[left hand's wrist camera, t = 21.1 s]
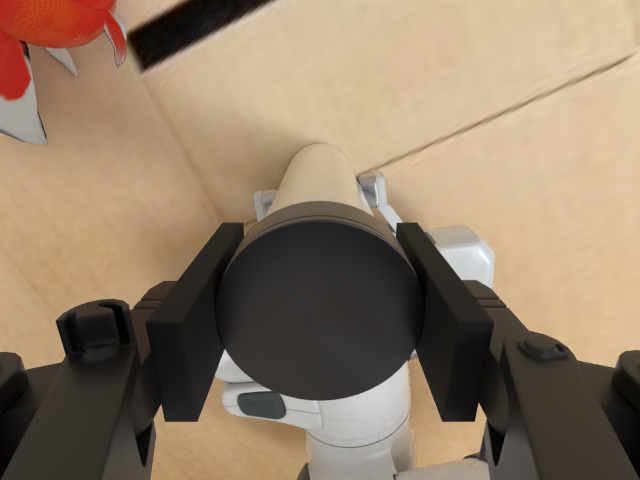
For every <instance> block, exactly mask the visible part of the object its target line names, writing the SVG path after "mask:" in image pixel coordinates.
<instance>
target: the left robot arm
mask: <svg viewBox="0 0 640 480" xmlns="http://www.w3.org/2000/svg"><path fill="white" fill-rule="evenodd" d="M243 238H244V229H243V223H222V224H221V226H220V227H219V228H218V229H217V231H216V232H215V233H214V235H213V236H212V237H211V238H210V240H209V241H208V242H207V244H206V245H205V246H204V247H203V249H202V250H201V251H200V253H199V254H198V255H197V257H196V258H195V259H194V260H193V262H192V263H191V264H190V266H189V267H188V268H187V269H186V271H185V272H184V273H183V275H182V276H181V277H180V278H179V280H178V281H163V282H161V283H160V284H158V285H156V286H154V287H153V288H151V289H149V290H148V292H147V293H146V294H145V295H144V296H143V297H142V298H141V301H139V302H138V303H137V304H136V305H135V306H134V309H132V310H131V311H130V308H129V305H128V304H127V303H126V302H124V301H122V300H116V299H103V300H97V301H92V302H87V303H85V304H82V305H79V306H76V307H74V308H72V309H70V310H69V311H67V312H65V313H63V314H62V315H61V316H60V317H59V318H58V319H57V320H56V324H57V327H58V331H59V334H60V337H61V341H62V344H63V347H64V350H65V354H66V356H65V358H64V360H63V362H61V363H57V364H52V365H47V366H42V367H37V368H32V369H27V370H25V368H24V365H23V362H22V359H21V357H20V356H18V355H17V354H15V353H9V352H0V480H150V478H151V470H152V463H153V455H154V448H155V440H156V431H155V425H154V420H153V418H154V417H155V415H156V413H157V411H158V409H159V407H160V405H161V404H162V409H163V414H164V419H165V422H197V421H198V419H199V416H200V413H201V411H202V408H203V405H204V403H205V400H206V398H207V395H208V392H209V390H210V387H211V384H212V382H213V379H214V376H215V374H216V371H217V368H218V366H219V363H220V360H221V358H222V355H223V353H224V350H225V348H224V346H223V344H222V342H221V339H220V336H219V334H218V330H217V325H216V317H215V300H216V294H217V290H218V286H219V283H220V281H221V279H222V276H223V274H224V272H225V270H226V268H227V266H228V265H229V263H230V261H231V259H232V257H233V256H234V254H235V252H236V250H237V248H238V247H239V245H240V243H241V241H242V240H243ZM396 239H397V240H398V242H399V243H400V245H401V247H402V248H403V250H404V252H405V254H406V256H407V258H408V259H409V261H410V263H411V265H412V267H413V269H414V270H415V273H416V275H417V277H418V279H419V281H420V284H421V287H422V290H423V295H424V302H425V314H424V323H423V329H422V333H421V336H420V339H419V341H418V343H417V345H416V348H415V351H416V353H417V356H418V358H419V361H420V364H421V366H422V369H423V372H424V374H425V377H426V380H427V382H428V385H429V388H430V390H431V393H432V396H433V398H434V401H435V403H436V406H437V409H438V411H439V414H440V417H441V419H442V422H475V418H476V412H477V407H478V402H479V404H480V405H481V407H482V409H483V411H484V413H485V415H486V417H487V420H486V425H485V430H484V434H483V439H482V444H481V448H480V454H479V460H481V461H484V458H485V454H487V462H488V469H489V477H490V480H640V351H639V350H633V351H625V352H624V353H622V354H621V355H620V356H619V358H618V361H617V364H616V367H615V368H612V367H607V366H602V365H597V364H591V363H586V362H582V361H578V360H577V359H576V358H575V356H574V354H573V353H572V352H571V351H570V349H569V348H568V347H567V346H565V345H564V344H562V343H561V342H559V341H558V340H556V339H554V338H551V337H549V336H547V335H544V334H540V333H536V332H532V331H529V330H528V329H527V328H526V327H525V326H524V325H523V324H522V323H521V322H520V320H519V319H518V318H517V317H516V316H515V315H514V314H513V313H512V312H511V310H510V309H509V308H507V307H506V305H505V304H504V303H503V301H502V300H499V297H498V296H497V295H496V294H495V293H494V291H493V290H492V289H491V288H489V287H488V286H486V285H484V284H483V283H481V282H479V281H477V280H461V279H460V277H459V276H458V275H457V274H456V272H455V271H454V270H453V268H452V267H451V266H450V265H449V263H448V262H447V261H446V259H445V258H444V257H443V256H442V254H441V253H440V252H439V250H438V249H437V248H436V247H435V245H434V244H433V243H432V241H431V240H430V239H429V238H428V236H427V235H426V234H425V232H424V231H423V230H422V229H421V227H420V226H419V225H418V223H397V226H396Z"/></svg>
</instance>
